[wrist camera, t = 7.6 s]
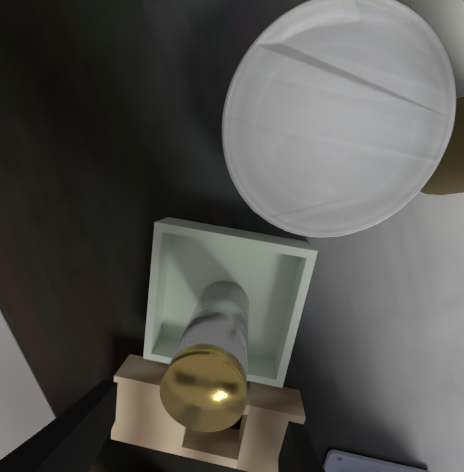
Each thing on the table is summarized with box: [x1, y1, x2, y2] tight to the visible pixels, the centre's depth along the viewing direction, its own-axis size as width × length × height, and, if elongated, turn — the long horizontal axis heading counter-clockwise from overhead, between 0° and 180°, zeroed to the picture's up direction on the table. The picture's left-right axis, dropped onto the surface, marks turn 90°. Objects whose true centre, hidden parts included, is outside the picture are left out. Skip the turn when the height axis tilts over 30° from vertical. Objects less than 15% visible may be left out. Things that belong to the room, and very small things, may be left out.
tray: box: [143, 217, 318, 388], centre depth 18 cm, size 11×11×3 cm
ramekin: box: [222, 0, 456, 237], centre depth 14 cm, size 11×11×5 cm
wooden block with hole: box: [111, 354, 306, 472], centre depth 20 cm, size 16×7×2 cm, turn 81°
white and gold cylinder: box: [160, 281, 249, 432], centre depth 14 cm, size 4×4×8 cm
